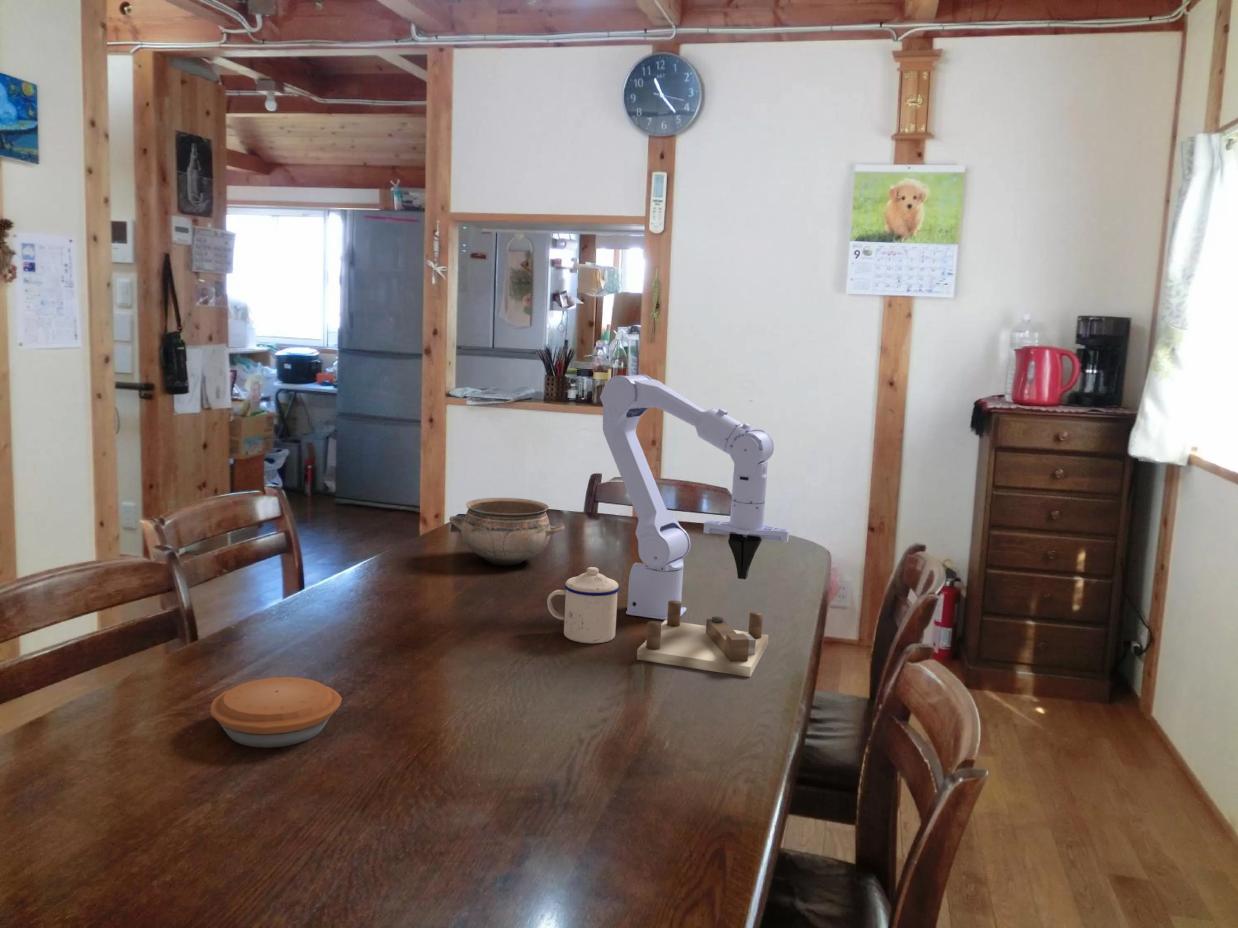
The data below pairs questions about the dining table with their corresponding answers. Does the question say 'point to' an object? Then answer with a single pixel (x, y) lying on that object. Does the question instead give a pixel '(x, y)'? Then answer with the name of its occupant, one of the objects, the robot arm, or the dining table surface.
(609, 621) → the teacup with lid
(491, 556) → the cooking pot
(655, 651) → the stool seat
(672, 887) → the dining table surface
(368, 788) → the dining table surface
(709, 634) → the folding leg
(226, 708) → the pie
